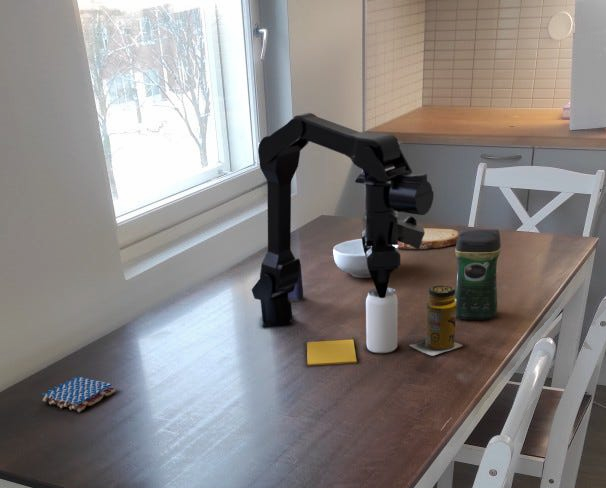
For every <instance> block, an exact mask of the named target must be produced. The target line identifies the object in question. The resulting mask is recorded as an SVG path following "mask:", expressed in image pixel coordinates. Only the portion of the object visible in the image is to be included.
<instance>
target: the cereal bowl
mask: <svg viewBox="0 0 606 488" xmlns="http://www.w3.org/2000/svg"><path fill="white" fill-rule="evenodd" d="M365 245H366V244H365ZM392 246H395V247H396V248H397V249H398V250H399V246H398V245H392ZM399 251H400V250H399ZM332 252H333V254H332V255H333V260H334V263H335V265H336V266H337V267H338V268H339V270H341V271H343V272H344V273H347V274H350V275H351V276H352V277H354V278H359V279H369V278H370V279H371V275H370V273H369V270H368V268H367V261H366V255H365V253H364V250H363V245H362V238H358V239H351V240H346V241H342V242H339V243H337V244H336V245H334V246H333V249H332Z"/></svg>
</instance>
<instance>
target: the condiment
mask: <svg viewBox="0 0 606 488" xmlns="http://www.w3.org/2000/svg"><path fill="white" fill-rule="evenodd" d="M455 292H456V288H454V287H453V286H452V285H446V284H439V285H434V286H431V287H430V288H429V290H428V296H427V298H428V300H427V301H426V303H425V304H426V305H425V306H426V307H425V339H424V340H421V341H419V342H416V343H412V344H409V346H410V347H412V348H413V349H415V350H417V351H419V352H421V353H423V354H426V355H429V356H431V357H434V356H436V355H439V354H442V353H445V352H449V351H450V352H451V351H452V350H455V349H458V348H461V347H463V346H464V345H463V344H461V343H458V342H455V340H456V322H457V321H456V320H457V319H456V318H457V317H456V301H455Z"/></svg>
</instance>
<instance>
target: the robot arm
mask: <svg viewBox="0 0 606 488" xmlns="http://www.w3.org/2000/svg"><path fill="white" fill-rule="evenodd" d="M398 140H399V139H398V138H397V137H396V136H395V135H393V134H391V133H384V132H363V131H358V130H355V129H352V128H349V127H348V126H344V125H342V124H339V123H336V122H333V121H330V120H327V119H325V118H322V117H319V116H317V115H316V114H314V113H312V112H306V113H301V114H298V115H295V116H293V117H292V118H291V119H290V120H289V121H288V122H287V123H285V124H284V125H283V126H281V127H280V128H279V129H277V130H276V131H274V132H273V133H272V134H270V135H266V136H264V137H262V139H261V140H260V141H259V142H258V144H257V145H258V146H257V153H258V163H259V168H260V170H261V172H262V174H263V176H264V177H265V180H266V183H267V191H266V192H267V193H266V195H267V251H266V253H265V255H264V257H263V260H262V262H261V265H260V272H259V279H258V281H257V282H256V283H255V284H254V286H253V287H252V288H251V293H252V296H253V298H254V300H259V301H260V307H261V308H260V309H261V319H262V320H261V326H262V327H279V326H290V325H291V321H292V320H293V307H292V305H293V304H292V300H291V299H288V293H290V292H293V291H294V288H295V284H296V283H297V281H298V277H300V276H301V275H300V271H299V267H300V263H301V260H300V258H296V257H295V256H294V253H293V251H292V249H291V245H292V243H291V241H292V240H291V239H292V237H291V235H292V233H291V232H292V229H291V227H292V181H293V178H294V176H295V174H296V172H297V170H298V167H299V164H300V163H299V162H300V157H301V151H302V150H303V149H304V148H305V147H307V145H308V144H309V143H313V144H315V145H318V146H321V147H323V148H325V149H328V150H330V151H334V152H336V153H339V154H341V155H344V156H346V157H348V158H349V159H350V160H351V162H352V163H353V165H354V166H356V167H357V168H359V169H360V170H362V171H361V172H360V174H359V175H358V176H357V177H355V178H354V183H356V184H363V185H364V212H363V214H364V215H363V217H364V229H363V230H362V232H361V239H362V245H363V250H364V253H365V255H366V261H367V268H368V270H369V273H370V275H371V277H370V279H371V280H372V283H373V285H374V288H376V290H377V293H378V295H379V297H380V298H385V296H386V291H387V287H388V288H389V283H390V278H391V275H392V273H393V272H394V271H395V270H397V269H398V268H399V267H400V266H401V253H400V250H398V249H399V248H398V249H397V248H396V247H395V246H392V245H398V241H399V242H402V243H405V244H408V245H411V246H413V247H414V248H419V247H420V245H421V242H422V239H423V237H424V234H425V231H424V228H423V226H422V225H420V224H417V223H418V222H417V218H416V217H415V216H413V215H417V216H424V215H425V216H426V214H428V213H429V211H430V210H431V208H432V205H433V201H434V197H435V196H434V190H433V186H432V184H431V183H430V182H429V181H428V174H426V173H413V170H412V168H411V166H410V164H409V162H408V161H407V159H406V157H405V155H404V153H403V151H402V149H401V145H400V144H399V141H398ZM396 212H397V213H404V214H412V215H407V216H406V217H405V219H398V217H397V213H396ZM365 244H366V245H365Z"/></svg>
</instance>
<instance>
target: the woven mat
mask: <svg viewBox="0 0 606 488" xmlns="http://www.w3.org/2000/svg"><path fill="white" fill-rule="evenodd" d="M59 385H60V386H53V388H54V389H48V390H47V391H48V392H42V393H41V396H43V397H42V402H44V403H48V404H49V405H50V406H51V405H56V406H57V407H59V408H60V409H63V408H69V410H70V411H72V410H74V411H77V412H78V413H81V412H82V411H83V410H84V409H85V408H87V407H88V406H89V407H90V406H93V405H95V404H96V403H99V402H100V401H101V400H102V399H103V398H105V397H109V396H111V395H113V394H115V393H116V389H115V388H114V387H113V384H112V383H108V382H103V381H100V380H96V379H91V378H86V377H83V376H82V377H81V376H77V377H71V380H70V379H69V380H66V381H65V383H59Z"/></svg>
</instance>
